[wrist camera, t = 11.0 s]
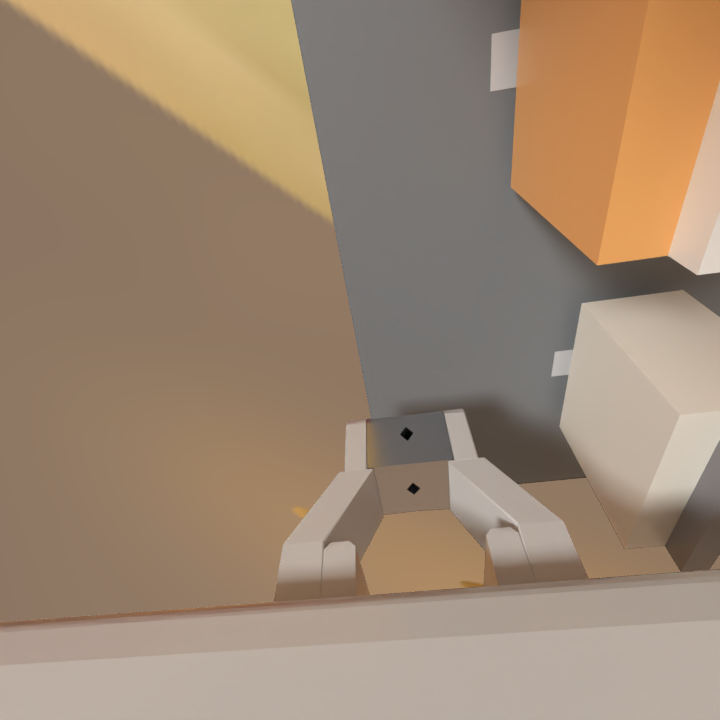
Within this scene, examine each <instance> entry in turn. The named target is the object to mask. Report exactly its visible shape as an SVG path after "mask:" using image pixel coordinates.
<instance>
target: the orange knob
mask: <svg viewBox="0 0 720 720" xmlns="http://www.w3.org/2000/svg"><path fill="white" fill-rule="evenodd" d="M511 188H512V189H513V190H514V191H515V192H517V193H518V194H519V195H520V196H521V197H522V198H523V199H524V200H525V201H527V202H528V203H529V204H530V205H531V206H532V207H533V208H534V209H535V210H536V211H538V212H539V213H540V214H541V215H542V216H543V217H544V218H545V219H546V220H547V221H549V222H550V223H551V224H552V225H553V226H554V227H555V228H556V229H557V230H559V231H560V232H561V233H562V234H563V235H564V236H565V237H566V238H567V239H568V240H570V241H571V242H572V243H573V244H574V245H575V246H576V247H577V248H578V249H580V250H581V251H582V252H583V253H584V254H585V255H586V256H587V257H588V258H589V259H591V260H592V261H593V262H594V263H595V264H596V265H604V264H611V263H619V262H626V261H633V260H640V259H647V258H655V257H662V256H669V257H671V258H672V259H674V260H675V261H677V262H678V263H680V264H681V265H683V266H684V267H686V268H687V269H689V270H690V271H692V272H693V273H695V274H696V275H703V274H711V273H718V272H720V0H521V14H520V31H519V49H518V66H517V84H516V101H515V119H514V137H513V154H512V172H511Z"/></svg>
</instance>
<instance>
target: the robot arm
mask: <svg viewBox="0 0 720 720" xmlns="http://www.w3.org/2000/svg"><path fill="white" fill-rule="evenodd" d="M345 446H346V447H345V471H344V472H339V473H338V474H337V475H336V477H335V478H334V479H333V480H332V482H331V483H330V484H329V486H328V487H327V488H326V490H325V491H324V492H323V493H322V495H321V496H320V497H319V499H318V500H317V501H316V503H315V504H314V505H313V506H312V508H311V509H310V510H309V512H308V513H307V514H306V516H305V517H304V518H303V519H302V521H301V522H300V523H299V525H298V526H297V527H296V529H295V530H294V531H293V532H292V534H291V535H290V536H289V538H288V539H287V540H286V542H285V543H284V544H283V548H282V555H281V561H280V567H279V573H278V580H277V586H276V592H275V598H274V602H268V603H256V604H241V605H227V606H214V607H200V608H187V609H173V610H161V611H146V612H132V613H118V614H106V615H105V614H104V615H90V616H77V617H64V618H49V619H36V620H23V621H8V622H0V720H720V569H715V570H702V571H688V572H675V573H661V574H648V575H635V576H621V577H607V578H593V579H588V576H587V574H586V572H585V570H584V567H583V565H582V563H581V560H580V558H579V556H578V553H577V551H576V549H575V546H574V544H573V542H572V539H571V537H570V535H569V533H568V530H567V528H566V526H565V524H564V521H563V520H561V519H560V518H559V517H558V516H556V515H555V514H554V513H552V512H551V511H550V510H549V509H548V508H546V507H545V506H544V505H543V504H542V503H540V502H539V501H538V500H537V499H535V498H534V497H533V496H531V495H530V494H529V493H528V492H527V491H525V490H524V489H523V488H522V487H521V486H519V485H518V484H517V483H516V482H514V481H513V480H512V479H511V478H509V477H508V476H507V475H506V474H504V473H503V472H502V471H501V470H499V469H498V468H497V467H496V466H495V465H493V464H492V463H491V462H490V461H488V460H487V459H486V458H485V457H484V458H478V455H477V451H476V448H475V445H474V441H473V438H472V434H471V431H470V428H469V424H468V421H467V418H466V414H465V411H464V410H463V409H454V410H446V411H443V412H442V411H438V412H430V413H422V414H414V415H405V416H397V417H386V418H374V419H367V420H356V421H348V422H347V425H346V445H345ZM441 509H450V510H451V512H452V513H453V514H454V515H455V516H456V517H457V519H458V520H459V521H460V522H461V523H462V524H463V526H464V527H465V528H466V529H467V530H468V531H469V533H470V534H471V535H472V536H473V537H474V539H476V541H477V542H478V543H479V544H480V546H481V547H482V548H483V549H484V550H485V571H484V587H471V588H458V589H443V590H431V591H417V592H405V593H404V592H403V593H390V594H377V595H370V594H369V590H368V587H367V583H366V580H365V577H364V573H363V570H362V567H361V563H360V561H361V559H362V557H363V555H364V553H365V552H366V550H367V548H368V546H369V544H370V542H371V540H372V538H373V536H374V534H375V532H376V530H377V528H378V527H379V525H380V523H381V521H382V519H383V515H387V514H395V513H404V512H411V511H424V510H441Z"/></svg>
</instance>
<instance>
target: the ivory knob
mask: <svg viewBox="0 0 720 720" xmlns="http://www.w3.org/2000/svg"><path fill="white" fill-rule="evenodd" d="M559 427H560V428H561V430H562V432H563V434H564V436H565V438H566V440H567V442H568V444H569V445H570V447H571V449H572V451H573V453H574V455H575V457H576V459H577V460H578V462H579V464H580V466H581V468H582V470H583V472H584V474H585V476H586V477H587V479H588V481H589V483H590V485H591V487H592V489H593V491H594V492H595V494H596V496H597V498H598V500H599V502H600V504H601V506H602V508H603V509H604V511H605V513H606V515H607V517H608V519H609V521H610V522H611V524H612V526H613V528H614V530H615V532H616V534H617V536H618V538H619V540H620V541H621V543H622V545H623V547H624V549H630V548H643V547H656V546H665V547H666V548H667V550H668V552H669V553H670V555H671V556H672V558H673V560H674V562H675V563H676V565H677V566H678V568H679V569H680V571H694V570H708V569H710V568H711V566H712V565H713V563H714V562H715V560H716V559H717V557H718V556H719V554H720V317H719V316H718V315H716V314H715V313H714V312H712V311H711V310H710V309H708V308H707V307H705V306H704V305H703V304H701V303H700V302H699V301H697V300H696V299H695V298H693V297H692V296H691V295H689V294H688V293H687V292H685V291H684V290H678V291H671V292H663V293H656V294H648V295H640V296H633V297H625V298H617V299H610V300H602V301H594V302H587V303H582V304H581V310H580V315H579V321H578V326H577V332H576V337H575V343H574V348H573V354H572V359H571V365H570V370H569V376H568V381H567V387H566V392H565V398H564V403H563V409H562V414H561V420H560V425H559Z"/></svg>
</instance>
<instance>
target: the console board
mask: <svg viewBox="0 0 720 720" xmlns="http://www.w3.org/2000/svg"><path fill="white" fill-rule="evenodd" d="M291 3H292V8H293V13H294V18H295V24H296V29H297V34H298V39H299V44H300V50H301V55H302V60H303V65H304V70H305V76H306V81H307V86H308V91H309V96H310V102H311V107H312V112H313V117H314V122H315V128H316V133H317V138H318V143H319V149H320V154H321V159H322V164H323V169H324V175H325V180H326V185H327V190H328V195H329V201H330V206H331V211H332V216H333V221H334V227H335V232H336V237H337V242H338V247H339V253H340V258H341V263H342V268H343V273H344V279H345V284H346V289H347V294H348V299H349V305H350V310H351V315H352V320H353V325H354V331H355V335H356V341H357V346H358V351H359V357H360V361H361V367H362V372H363V377H364V383H365V388H366V393H367V398H368V404H369V409H370V413H371V419H374V418H386V417H397V416H405V415H414V414H422V413H430V412H438V411H442V412H443V411H446V410H454V409H463V410H464V411H465V414H466V418H467V421H468V424H469V428H470V431H471V434H472V438H473V441H474V445H475V448H476V451H477V455H478V458H484V457H485V458H486V459H487V460H488V461H490V462H491V463H492V464H493V465H495V466H496V467H497V468H498V469H499V470H501V471H502V472H503V473H504V474H506V475H507V476H508V477H509V478H511V479H512V480H513V481H514V482H516V483H517V484H522V483H533V482H544V481H554V480H564V479H575V478H586V476H585V474H584V472H583V470H582V468H581V466H580V464H579V462H578V460H577V459H576V457H575V455H574V453H573V451H572V449H571V447H570V445H569V444H568V442H567V440H566V438H565V436H564V434H563V432H562V430H561V428H560V427H559V425H560V420H561V414H562V409H563V403H564V398H565V392H566V387H567V381H568V376H569V370H570V365H571V359H572V354H573V348H574V343H575V337H576V332H577V326H578V321H579V315H580V310H581V304H582V303H587V302H594V301H602V300H610V299H617V298H625V297H633V296H640V295H648V294H656V293H663V292H671V291H678V290H684V291H685V292H687V293H688V294H689V295H691V296H692V297H693V298H695V299H696V300H697V301H699V302H700V303H701V304H703V305H704V306H705V307H707V308H708V309H710V310H711V311H712V312H714V313H715V314H716V315H718V316H719V317H720V272H718V273H711V274H703V275H696V274H695V273H693V272H692V271H690V270H689V269H687V268H686V267H684V266H683V265H681V264H680V263H678V262H677V261H675V260H674V259H672V258H671V257H669V256H662V257H655V258H647V259H640V260H633V261H626V262H619V263H611V264H604V265H596V264H595V263H594V262H593V261H592V260H591V259H589V258H588V257H587V256H586V255H585V254H584V253H583V252H582V251H581V250H580V249H578V248H577V247H576V246H575V245H574V244H573V243H572V242H571V241H570V240H568V239H567V238H566V237H565V236H564V235H563V234H562V233H561V232H560V231H559V230H557V229H556V228H555V227H554V226H553V225H552V224H551V223H550V222H549V221H547V220H546V219H545V218H544V217H543V216H542V215H541V214H540V213H539V212H538V211H536V210H535V209H534V208H533V207H532V206H531V205H530V204H529V203H528V202H527V201H525V200H524V199H523V198H522V197H521V196H520V195H519V194H518V193H517V192H515V191H514V190H513V189H512V188H511V172H512V154H513V137H514V119H515V101H516V84H517V66H518V49H519V31H520V14H521V0H291Z"/></svg>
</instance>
